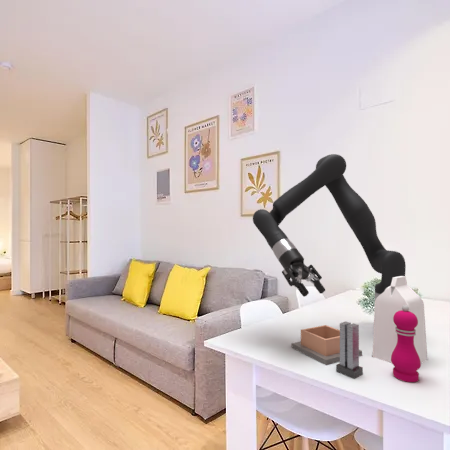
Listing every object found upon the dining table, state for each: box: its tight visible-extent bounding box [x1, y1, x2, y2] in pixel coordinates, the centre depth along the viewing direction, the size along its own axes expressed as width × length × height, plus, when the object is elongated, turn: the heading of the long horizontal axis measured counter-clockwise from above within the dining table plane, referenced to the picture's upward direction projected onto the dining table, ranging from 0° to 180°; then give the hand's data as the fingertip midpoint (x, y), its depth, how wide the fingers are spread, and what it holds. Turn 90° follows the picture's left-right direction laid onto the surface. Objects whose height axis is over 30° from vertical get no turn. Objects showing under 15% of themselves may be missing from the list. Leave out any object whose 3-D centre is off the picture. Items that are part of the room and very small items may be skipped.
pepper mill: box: [391, 305, 422, 383], centre depth 89 cm, size 7×7×20 cm
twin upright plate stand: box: [335, 321, 364, 380], centre depth 91 cm, size 4×6×14 cm
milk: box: [372, 275, 429, 364], centre depth 102 cm, size 12×12×26 cm
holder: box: [291, 324, 363, 366], centre depth 107 cm, size 16×16×6 cm
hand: (315, 293), depth 100 cm, fingers open, 8 cm apart
